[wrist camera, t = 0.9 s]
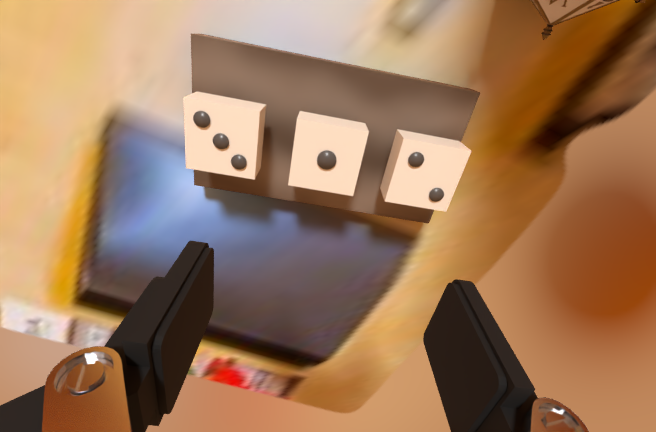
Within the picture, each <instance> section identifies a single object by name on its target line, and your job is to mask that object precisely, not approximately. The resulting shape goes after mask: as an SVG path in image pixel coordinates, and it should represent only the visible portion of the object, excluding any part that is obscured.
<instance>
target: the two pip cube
mask: <svg viewBox="0 0 656 432" xmlns="http://www.w3.org/2000/svg"><path fill="white" fill-rule="evenodd" d="M470 154H471V150H470V149H468V148H467V147H466V146H465V145H464V144H462V143H461V142H460V141H457V140H452V139H447V138H441V137H436V136H431V135H425V134H420V133H415V132H409V131H404V130H399V129H397V131H396V135H395V138H394V142H393V145H392V149H391V152H390V156H389V159H388V162H387V166H386V169H385V173H384V176H383V180H382V183H381V187H380V189H381V192H382V195H383V198H384V201H385V202H391V203H397V204H403V205H409V206H415V207H421V208H427V209H433V210H439V211H445V212H446V211H447V209H448V206H449V204H450V202H451V199H452V197H453V194H454V192H455V190H456V187H457V185H458V182H459V180H460V178H461V175H462V173H463V170H464V168H465V166H466V163H467V161H468V158H469V156H470Z"/></svg>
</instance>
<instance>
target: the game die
mask: <svg viewBox="0 0 656 432" xmlns="http://www.w3.org/2000/svg"><path fill="white" fill-rule="evenodd" d="M531 1H532V3H533V4H534V6H535V7H536V9H537V10H538V11H539V13H540V14H541V16H542V17H543V19H544V20H545V22H546V23H547V27H546V28H545V29H543V30H544V31H543V32H542V35H543V40H544V39H545V38H547V37H548V36H549V35H551V34H550V33H551V31H552V27H553V25H556V24H559V23H561V22H564V21H566V20H569V19H572V18H574V17H577V16H580V15H582V14H585V13H587V12H590V11H593V10H595V9H598V8H601V7H603V6H606V5H609V4H611V3H614V2H616V1H619V0H531ZM638 2H641V3H645V0H635V3H638Z"/></svg>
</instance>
